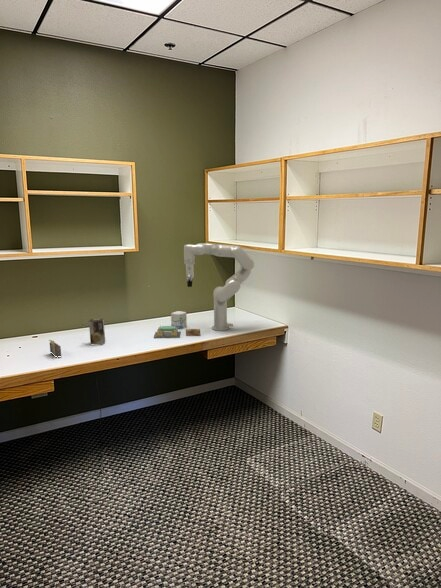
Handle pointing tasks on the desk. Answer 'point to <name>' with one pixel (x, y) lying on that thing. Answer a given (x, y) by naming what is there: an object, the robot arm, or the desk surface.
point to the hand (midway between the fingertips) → (189, 285)
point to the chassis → (167, 334)
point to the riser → (192, 332)
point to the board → (167, 328)
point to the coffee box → (97, 331)
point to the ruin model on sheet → (55, 348)
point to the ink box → (179, 319)
